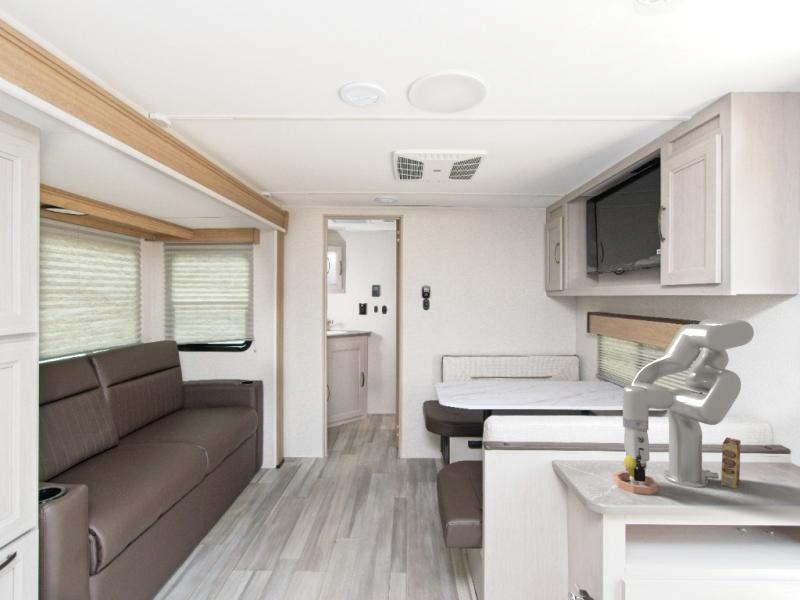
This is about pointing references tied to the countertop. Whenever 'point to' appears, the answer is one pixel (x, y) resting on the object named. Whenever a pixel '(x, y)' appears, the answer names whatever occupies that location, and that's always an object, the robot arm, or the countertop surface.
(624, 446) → the robot arm
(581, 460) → the countertop surface
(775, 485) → the countertop surface
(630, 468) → the light bulb
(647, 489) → the terracotta ring
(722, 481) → the candy box
